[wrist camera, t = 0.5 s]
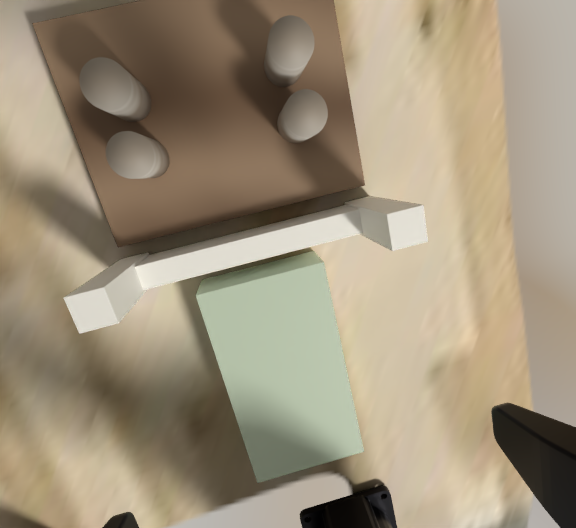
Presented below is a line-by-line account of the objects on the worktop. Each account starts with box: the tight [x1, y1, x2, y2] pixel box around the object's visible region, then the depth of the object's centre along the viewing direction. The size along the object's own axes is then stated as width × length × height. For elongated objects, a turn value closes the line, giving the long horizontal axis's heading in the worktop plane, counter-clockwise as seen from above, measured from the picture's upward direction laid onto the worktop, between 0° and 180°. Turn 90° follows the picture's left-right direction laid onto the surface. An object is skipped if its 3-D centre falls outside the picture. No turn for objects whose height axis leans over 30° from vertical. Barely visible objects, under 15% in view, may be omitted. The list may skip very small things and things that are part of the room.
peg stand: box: [32, 0, 365, 247], centre depth 15 cm, size 10×13×4 cm
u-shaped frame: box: [64, 196, 428, 334], centre depth 16 cm, size 2×14×6 cm, turn 104°
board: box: [196, 251, 364, 483], centre depth 20 cm, size 12×6×3 cm, turn 13°
